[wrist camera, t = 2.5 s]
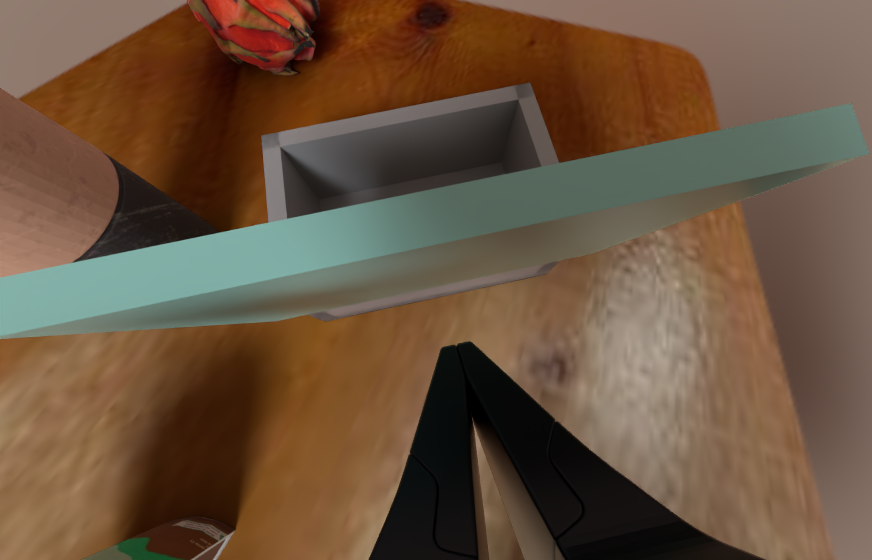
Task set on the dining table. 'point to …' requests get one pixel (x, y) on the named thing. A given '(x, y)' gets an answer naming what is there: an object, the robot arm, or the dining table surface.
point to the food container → (173, 542)
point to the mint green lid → (425, 234)
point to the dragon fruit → (261, 30)
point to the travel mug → (74, 198)
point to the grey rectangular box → (407, 164)
